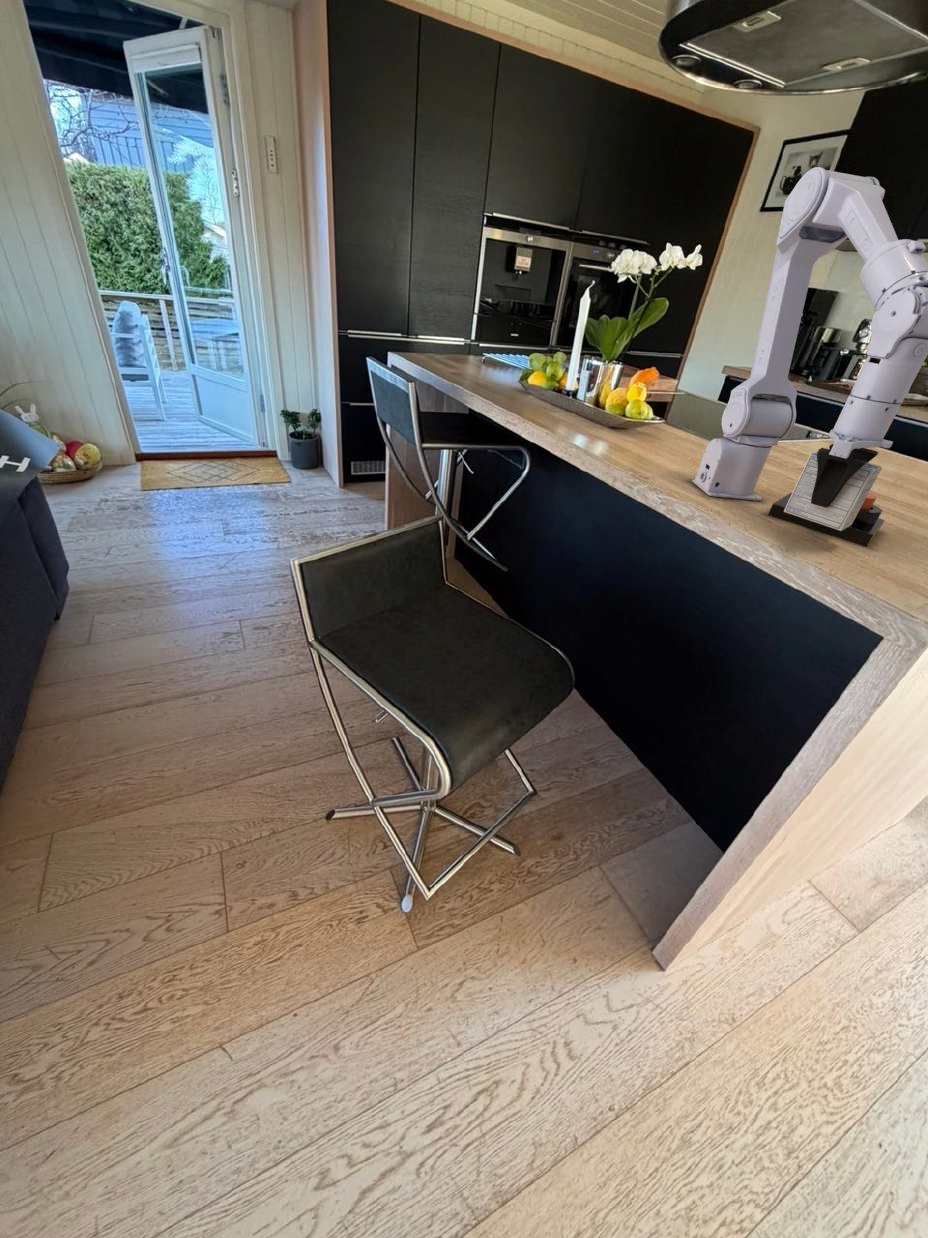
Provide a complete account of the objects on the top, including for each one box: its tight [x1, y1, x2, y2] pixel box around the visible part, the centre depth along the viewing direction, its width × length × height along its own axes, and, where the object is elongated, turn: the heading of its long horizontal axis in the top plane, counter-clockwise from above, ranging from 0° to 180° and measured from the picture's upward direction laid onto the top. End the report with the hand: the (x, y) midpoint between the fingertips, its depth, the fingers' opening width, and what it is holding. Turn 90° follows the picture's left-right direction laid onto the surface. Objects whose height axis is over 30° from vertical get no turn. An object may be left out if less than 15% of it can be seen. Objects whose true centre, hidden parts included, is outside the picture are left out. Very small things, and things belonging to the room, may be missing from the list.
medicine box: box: [784, 451, 883, 531], centre depth 72 cm, size 8×4×9 cm, turn 40°
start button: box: [860, 492, 877, 510], centre depth 80 cm, size 4×4×2 cm
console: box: [767, 492, 885, 548], centre depth 82 cm, size 10×14×4 cm
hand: (823, 501), depth 73 cm, fingers closed on medicine box, 5 cm apart
